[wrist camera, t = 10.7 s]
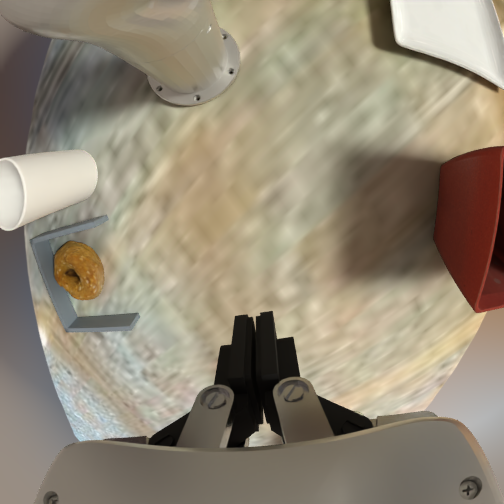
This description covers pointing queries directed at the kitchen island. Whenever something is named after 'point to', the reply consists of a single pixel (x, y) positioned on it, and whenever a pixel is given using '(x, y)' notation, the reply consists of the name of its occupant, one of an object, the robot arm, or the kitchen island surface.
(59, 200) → the cup
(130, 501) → the robot arm
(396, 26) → the square plate
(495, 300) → the plant pot
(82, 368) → the kitchen island surface
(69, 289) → the bagel
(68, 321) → the box
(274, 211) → the kitchen island surface
